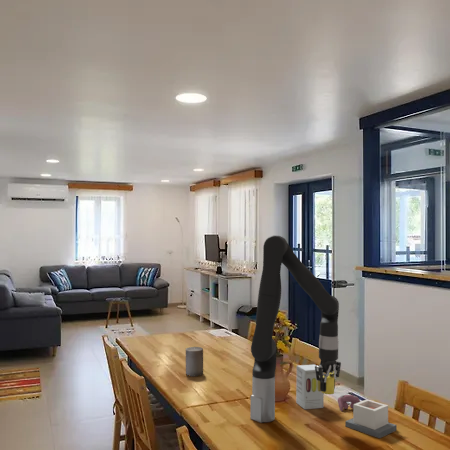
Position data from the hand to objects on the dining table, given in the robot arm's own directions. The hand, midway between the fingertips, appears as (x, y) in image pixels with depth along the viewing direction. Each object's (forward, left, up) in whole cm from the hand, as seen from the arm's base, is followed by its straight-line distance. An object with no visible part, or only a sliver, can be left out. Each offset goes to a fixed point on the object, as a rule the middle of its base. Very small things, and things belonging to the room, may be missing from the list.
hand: (327, 389), depth 189 cm
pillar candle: (+3, +92, -14) cm, 93 cm away
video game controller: (+23, +6, -14) cm, 28 cm away
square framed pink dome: (+11, -12, -14) cm, 22 cm away
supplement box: (+13, +20, -14) cm, 28 cm away
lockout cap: (0, 0, -1) cm, 1 cm away
